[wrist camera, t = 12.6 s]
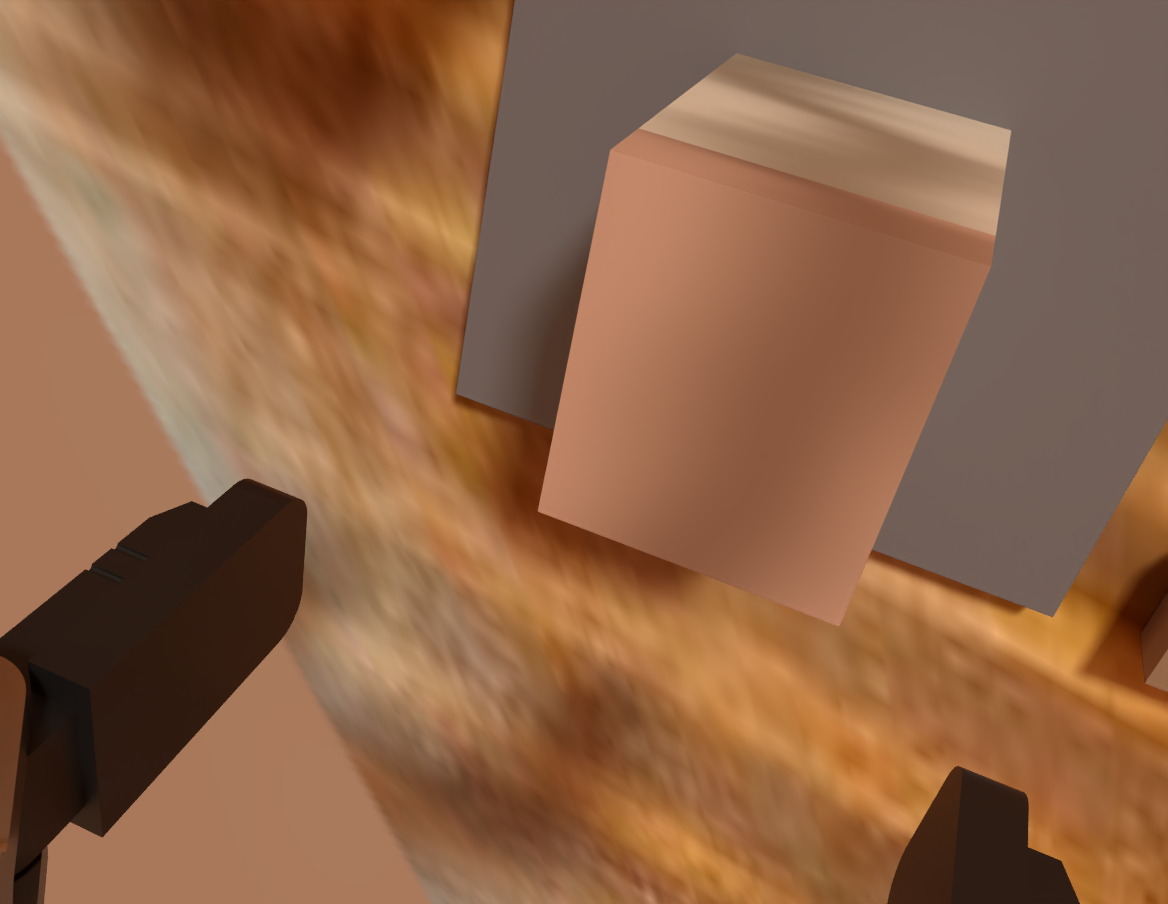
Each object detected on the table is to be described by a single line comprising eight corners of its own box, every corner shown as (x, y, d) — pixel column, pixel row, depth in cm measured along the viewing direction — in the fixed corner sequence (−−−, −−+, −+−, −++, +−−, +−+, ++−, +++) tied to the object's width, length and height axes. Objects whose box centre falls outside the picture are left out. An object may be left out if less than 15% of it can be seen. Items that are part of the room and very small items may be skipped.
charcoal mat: (473, 375, 27) (456, 394, 26) (563, -184, 20) (542, -184, 19) (1052, 590, 24) (1053, 617, 23) (1374, 25, 18) (1390, 35, 17)
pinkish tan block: (631, 443, 24) (494, 542, 16) (750, 70, 22) (664, -36, 14) (854, 524, 23) (832, 674, 15) (1001, 140, 21) (1067, 72, 13)
